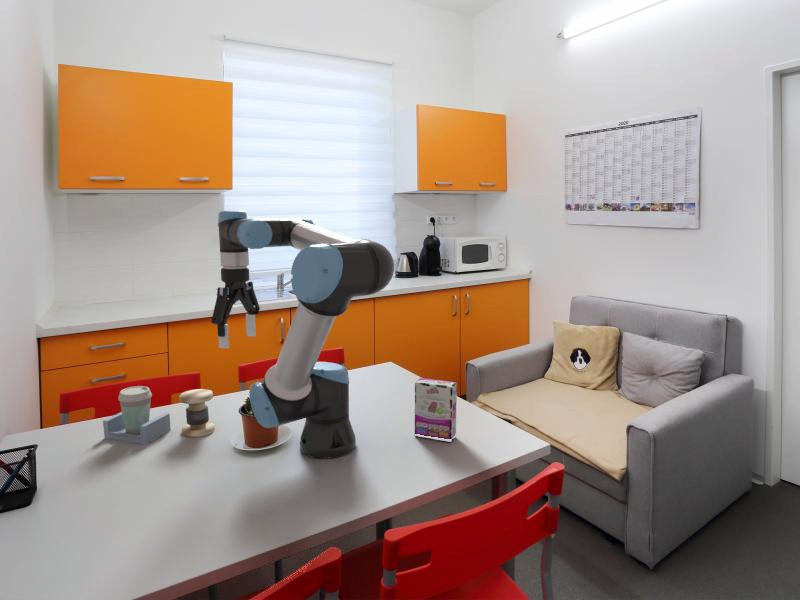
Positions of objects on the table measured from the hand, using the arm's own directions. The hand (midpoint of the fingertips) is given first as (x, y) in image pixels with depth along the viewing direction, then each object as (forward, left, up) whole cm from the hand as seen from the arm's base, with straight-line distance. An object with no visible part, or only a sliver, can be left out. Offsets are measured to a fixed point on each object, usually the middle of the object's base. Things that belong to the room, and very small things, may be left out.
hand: (238, 341), depth 154 cm
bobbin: (+12, +4, -27) cm, 30 cm away
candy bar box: (-55, -13, -27) cm, 62 cm away
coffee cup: (+27, +11, -26) cm, 39 cm away
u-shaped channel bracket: (+27, +11, -27) cm, 40 cm away
